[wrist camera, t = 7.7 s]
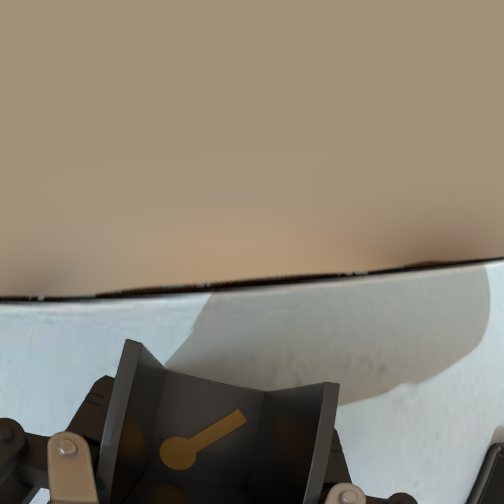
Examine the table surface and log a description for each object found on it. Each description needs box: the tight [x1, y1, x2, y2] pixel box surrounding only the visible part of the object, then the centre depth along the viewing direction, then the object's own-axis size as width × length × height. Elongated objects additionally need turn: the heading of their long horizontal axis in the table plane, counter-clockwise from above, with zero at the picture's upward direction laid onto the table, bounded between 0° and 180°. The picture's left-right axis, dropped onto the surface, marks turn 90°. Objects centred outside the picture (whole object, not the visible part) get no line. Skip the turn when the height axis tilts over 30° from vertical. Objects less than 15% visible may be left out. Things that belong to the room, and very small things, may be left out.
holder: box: [95, 339, 340, 504], centre depth 9 cm, size 6×6×8 cm
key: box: [159, 409, 247, 470], centre depth 12 cm, size 5×2×1 cm, turn 125°
